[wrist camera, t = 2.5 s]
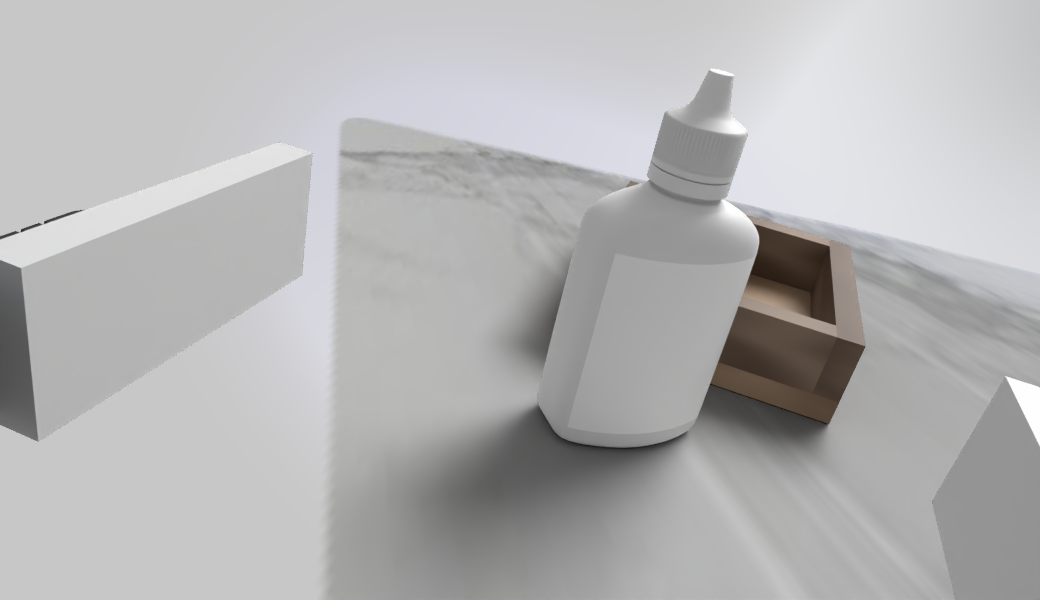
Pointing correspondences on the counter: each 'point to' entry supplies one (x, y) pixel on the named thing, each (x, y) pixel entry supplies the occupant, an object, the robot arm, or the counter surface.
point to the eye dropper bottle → (653, 287)
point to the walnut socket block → (794, 324)
